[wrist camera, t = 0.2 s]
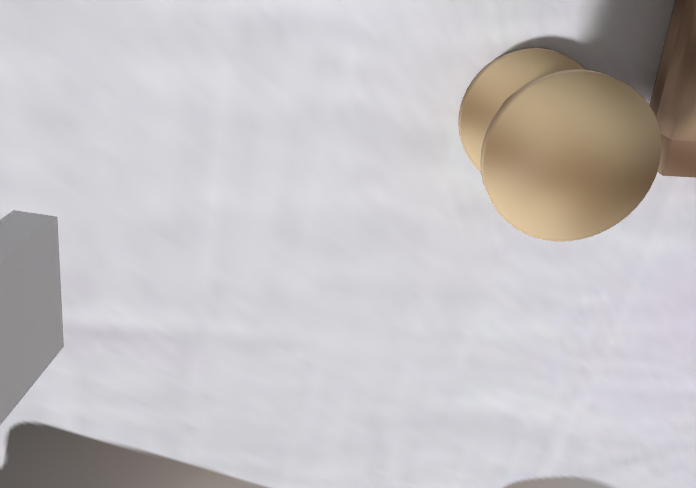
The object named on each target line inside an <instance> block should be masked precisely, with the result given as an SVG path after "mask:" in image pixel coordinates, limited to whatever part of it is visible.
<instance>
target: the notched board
mask: <svg viewBox="0 0 696 488" xmlns="http://www.w3.org/2000/svg"><path fill="white" fill-rule="evenodd" d="M650 107H651V109H652V110H653V112H654V114H655V117H656V119H657V122H658V125H659V129H660V133H661V144H662V145H661V158H660V163H659V168H658V171H657V172H658V173H660V174H661V175H663V176H681V177H696V0H675V4H674V8H673V12H672V16H671V20H670V24H669V28H668V33H667V37H666V41H665V45H664V49H663V53H662V57H661V61H660V65H659V69H658V73H657V78H656V82H655V86H654V90H653V94H652V98H651V102H650Z"/></svg>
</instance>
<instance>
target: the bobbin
mask: <svg viewBox="0 0 696 488" xmlns="http://www.w3.org/2000/svg"><path fill="white" fill-rule="evenodd" d="M459 133H460V138H461V141H462V144H463V147H464V149H465V151H466V153H467V155H468V157H469V159H470V160H471V162H472V163H473V164H474V166H475V167H476V168H477V169H478V170H479V171H480V172H481V174H482V179H483V183H484V186H485V189H486V191H487V193H488V195H489V197H490V199H491V201H492V203H493V205H494V207H495V208H496V210H497V211H498V212H499V214H500V215H501V216H502V217H503V218H504V219H505V220H506V221H507V222H508V223H509V224H510V225H512V226H513V227H514V228H516V229H517V230H519V231H521V232H523V233H525V234H527V235H530V236H532V237H535V238H539V239H543V240H549V241H572V240H579V239H583V238H587V237H591V236H593V235H596V234H599V233H601V232H603V231H605V230H607V229H609V228H611V227H612V226H614V225H616V224H617V223H619V222H620V221H621V220H623V219H624V218H625V217H627V216H628V215H629V214H630V213H631V212H632V211H633V210H634V209H635V208H636V207H637V206H638V205H639V203H640V202H641V201H642V200H643V198H644V197H645V195H646V194H647V192H648V191H649V189H650V187H651V185H652V183H653V181H654V179H655V177H656V174H657V171H658V168H659V163H660V158H661V145H662V144H661V133H660V129H659V125H658V122H657V119H656V117H655V114H654V112H653V110H652V109H651V107H650V106H649V104H648V103H647V101H646V100H645V99H644V98H643V97H642V95H640V94H639V93H638V92H637V91H636V90H635V89H634V88H632V87H631V86H629V85H627V84H626V83H624V82H622V81H620V80H618V79H616V78H613V77H611V76H609V75H606V74H604V73H600V72H596V71H591V70H585V69H584V68H583V67H582V66H581V65H580V64H579V63H578V62H576V61H575V60H573V59H571V58H570V57H568V56H565V55H563V54H561V53H559V52H556V51H553V50H549V49H543V48H526V49H519V50H516V51H512V52H509V53H507V54H505V55H502V56H500V57H499V58H497V59H495V60H493V61H492V62H491V63H489V64H488V65H487V66H485V67H484V68H483V69H482V70H481V71H480V72H479V73H478V74H477V76H476V77H475V78H474V79H473V81H472V82H471V84H470V85H469V87H468V88H467V91H466V93H465V95H464V97H463V100H462V103H461V106H460V112H459Z"/></svg>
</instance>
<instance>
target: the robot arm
mask: <svg viewBox="0 0 696 488" xmlns="http://www.w3.org/2000/svg"><path fill="white" fill-rule="evenodd" d="M63 347H64V343H63V323H62V303H61V283H60V263H59V243H58V222H57V217H55V216H49V215H42V214H35V213H28V212H21V211H12V212H11V213H9V214H8V215H6V216H5V217H3V218H2V219H1V220H0V425H1V424H2V422H3V421H4V420H5V419H6V418H7V416H8V415H9V414H10V413H11V411H12V410H13V409H14V408H15V406H16V405H17V404H18V403H19V401H20V400H21V399H22V398H23V396H24V395H25V394H26V393H27V391H28V390H29V389H30V388H31V386H32V385H33V384H34V383H35V381H36V380H37V379H38V378H39V376H40V375H41V374H42V373H43V372H44V370H45V369H46V368H47V367H48V365H49V364H50V363H51V362H52V360H53V359H54V358H55V357H56V355H57V354H58V353H59V352H60V350H61V349H62V348H63Z"/></svg>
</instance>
